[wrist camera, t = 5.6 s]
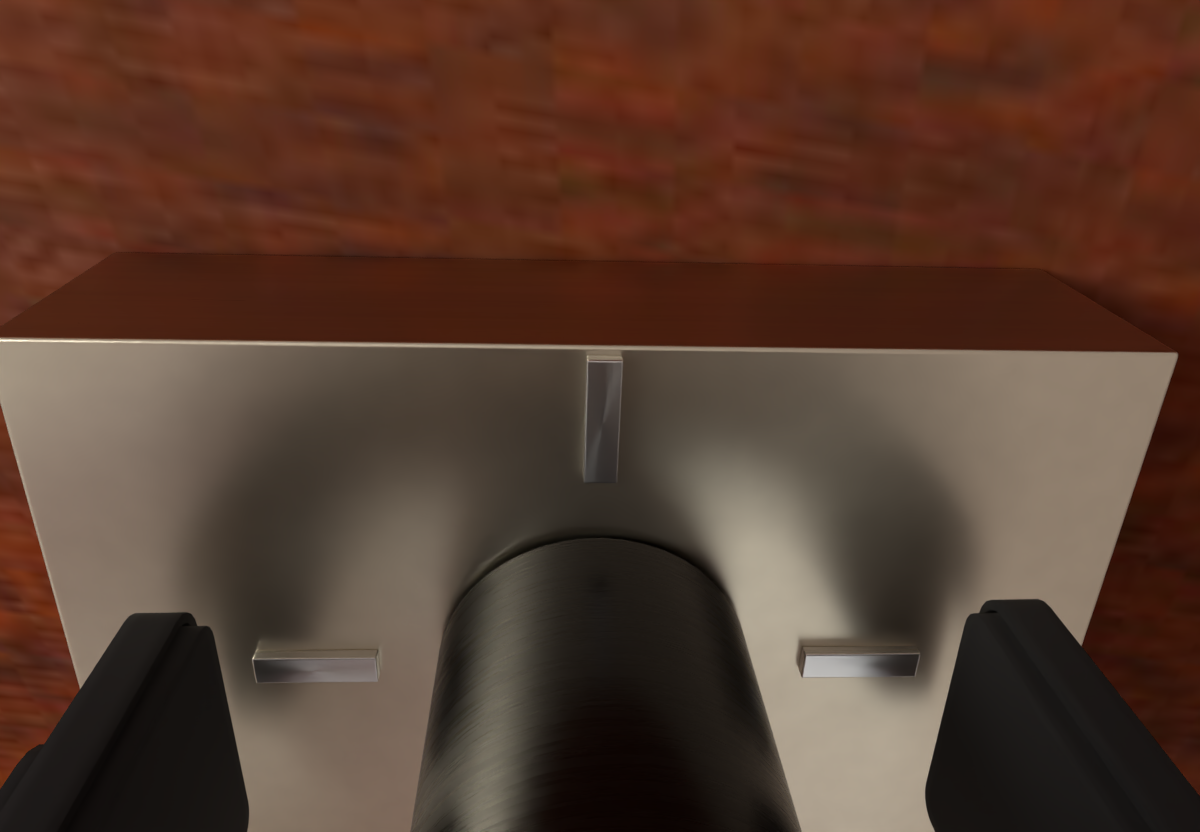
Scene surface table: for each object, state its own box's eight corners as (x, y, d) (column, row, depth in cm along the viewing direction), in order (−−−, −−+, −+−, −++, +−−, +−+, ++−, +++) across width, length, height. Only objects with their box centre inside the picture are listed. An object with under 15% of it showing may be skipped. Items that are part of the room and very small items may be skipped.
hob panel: (210, 729, 15) (131, 907, 12) (113, 250, 11) (-31, 343, 9) (927, 720, 16) (1012, 887, 13) (1042, 267, 12) (1192, 358, 9)
